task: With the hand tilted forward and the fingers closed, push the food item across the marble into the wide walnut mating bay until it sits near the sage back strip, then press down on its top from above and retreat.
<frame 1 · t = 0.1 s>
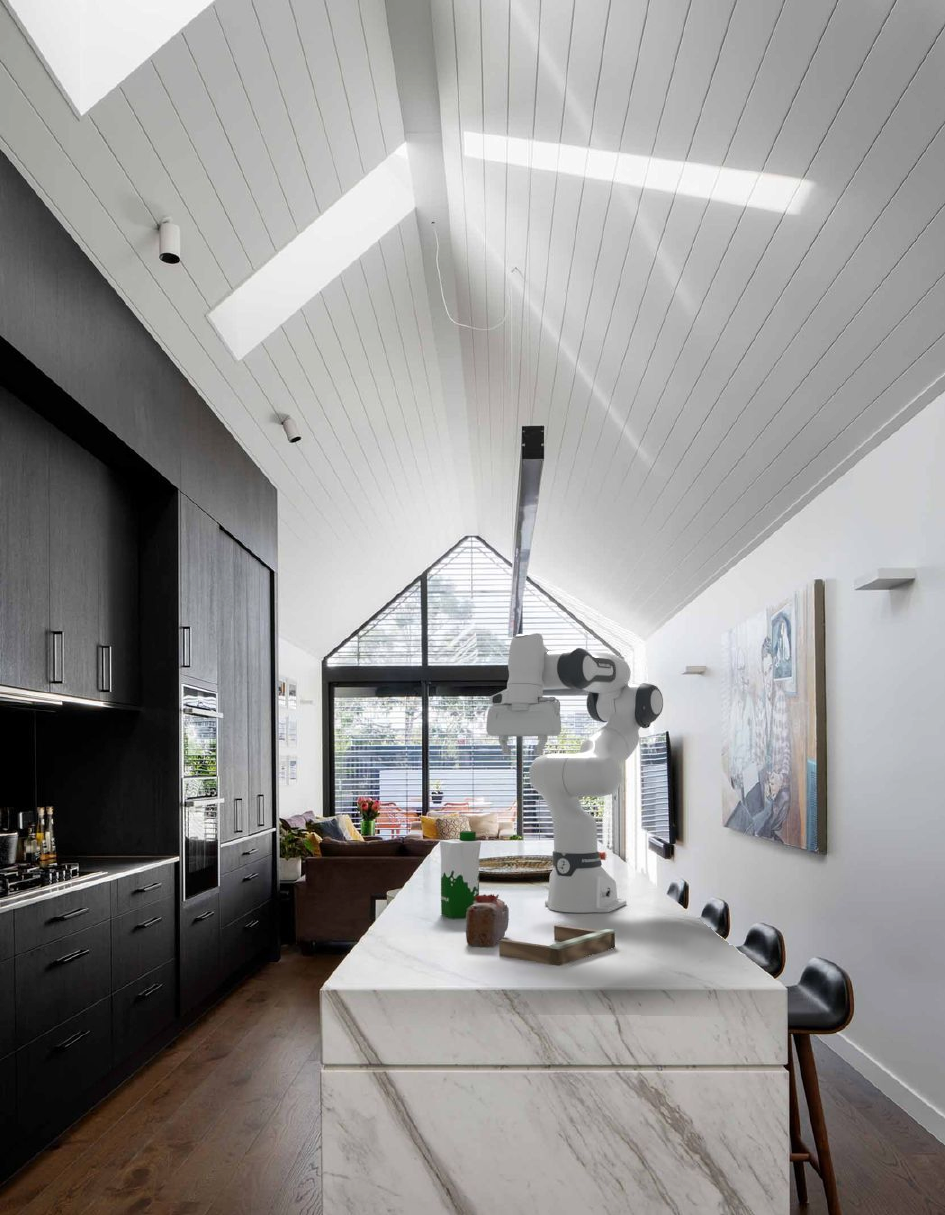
hand: (521, 755, 237), 39 cm above the countertop, tool pointing down, fingers open, 8 cm apart
milk carton: (459, 916, 240), on the countertop
bay: (558, 951, 199), on the countertop
food item: (487, 942, 210), on the countertop
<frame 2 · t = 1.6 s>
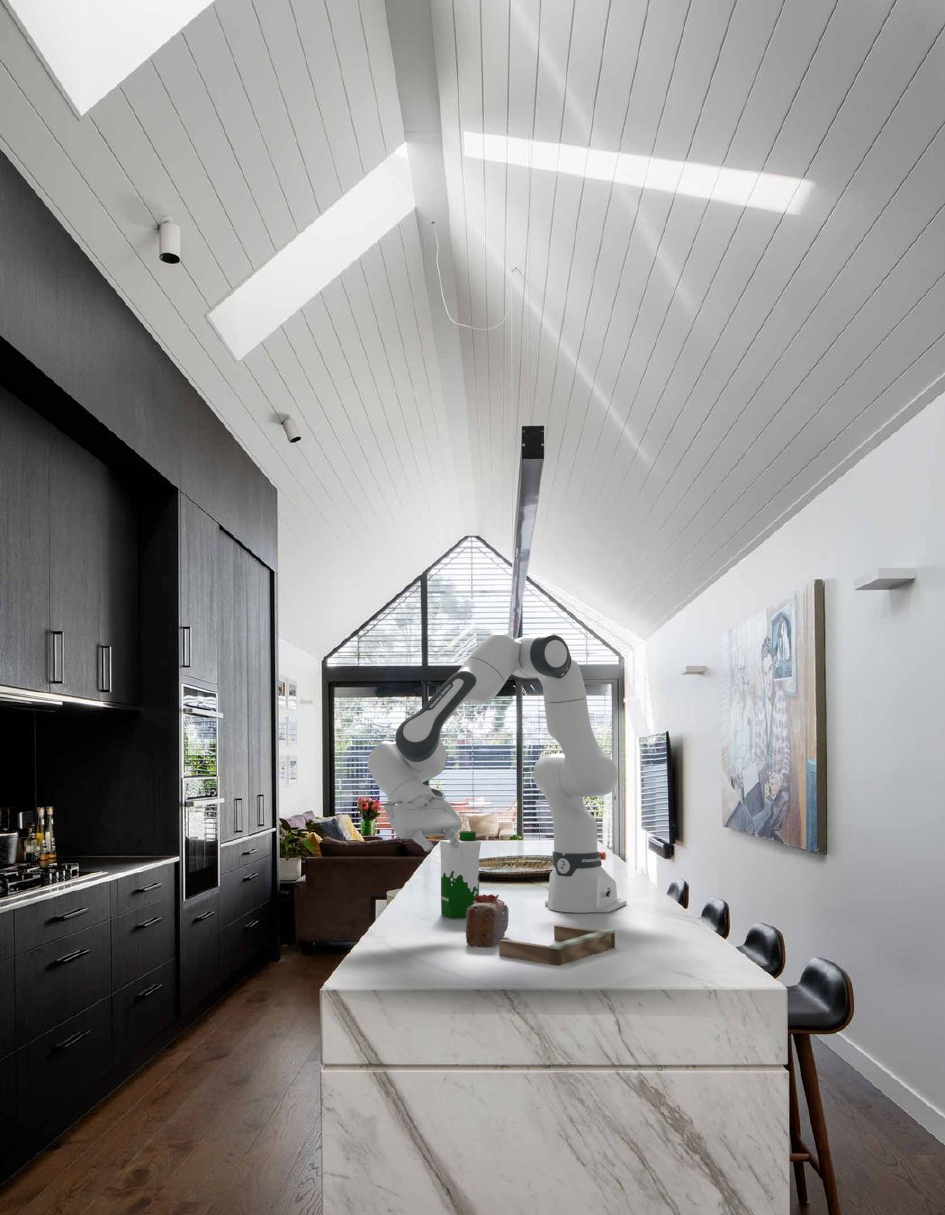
hand: (443, 848, 220), 19 cm above the countertop, tool tilted 45°, fingers open, 8 cm apart
nothing on the countertop moved.
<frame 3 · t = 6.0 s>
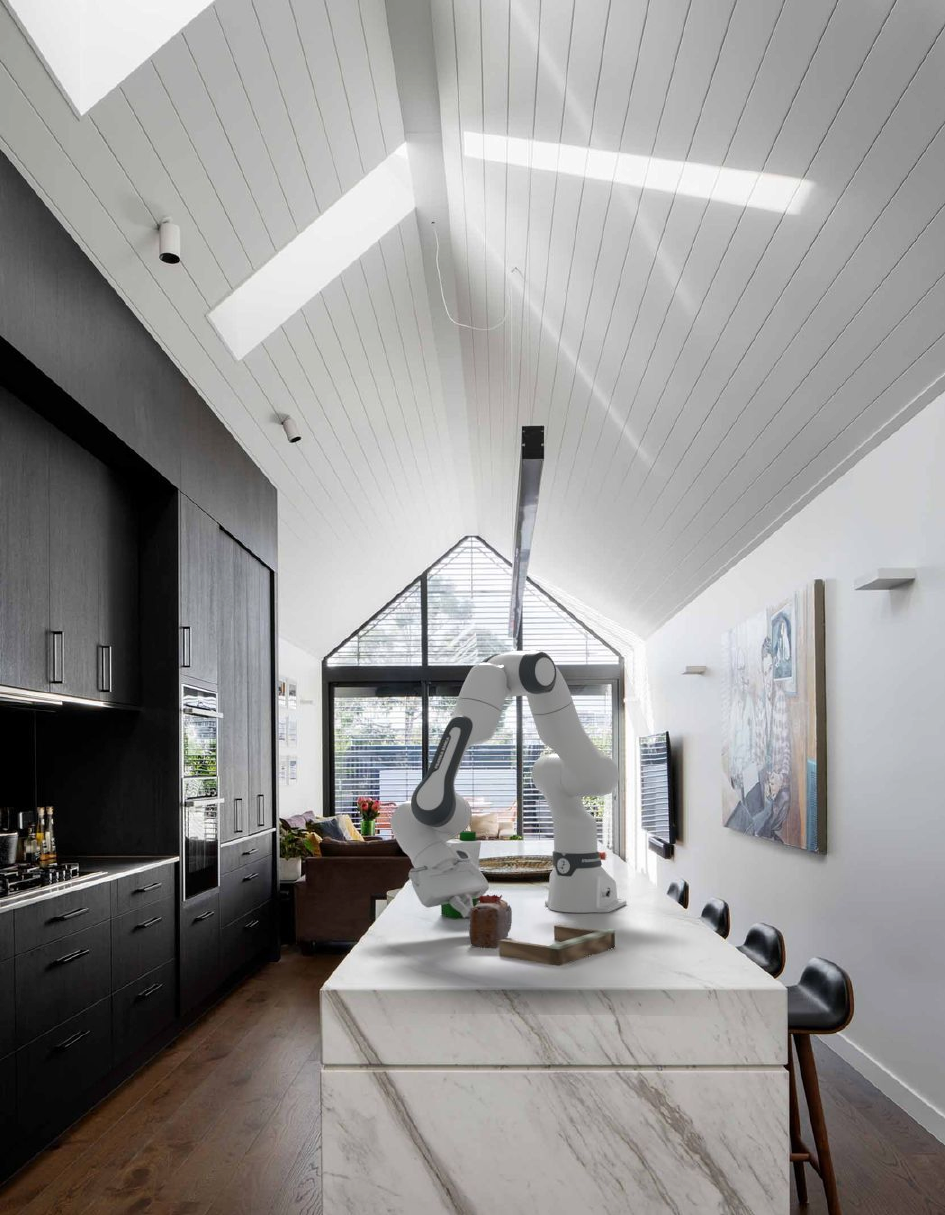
hand: (470, 915, 213), 5 cm above the countertop, tool tilted 45°, fingers closed
food item: (490, 943, 209), on the countertop, touching gripper
everything else where it was.
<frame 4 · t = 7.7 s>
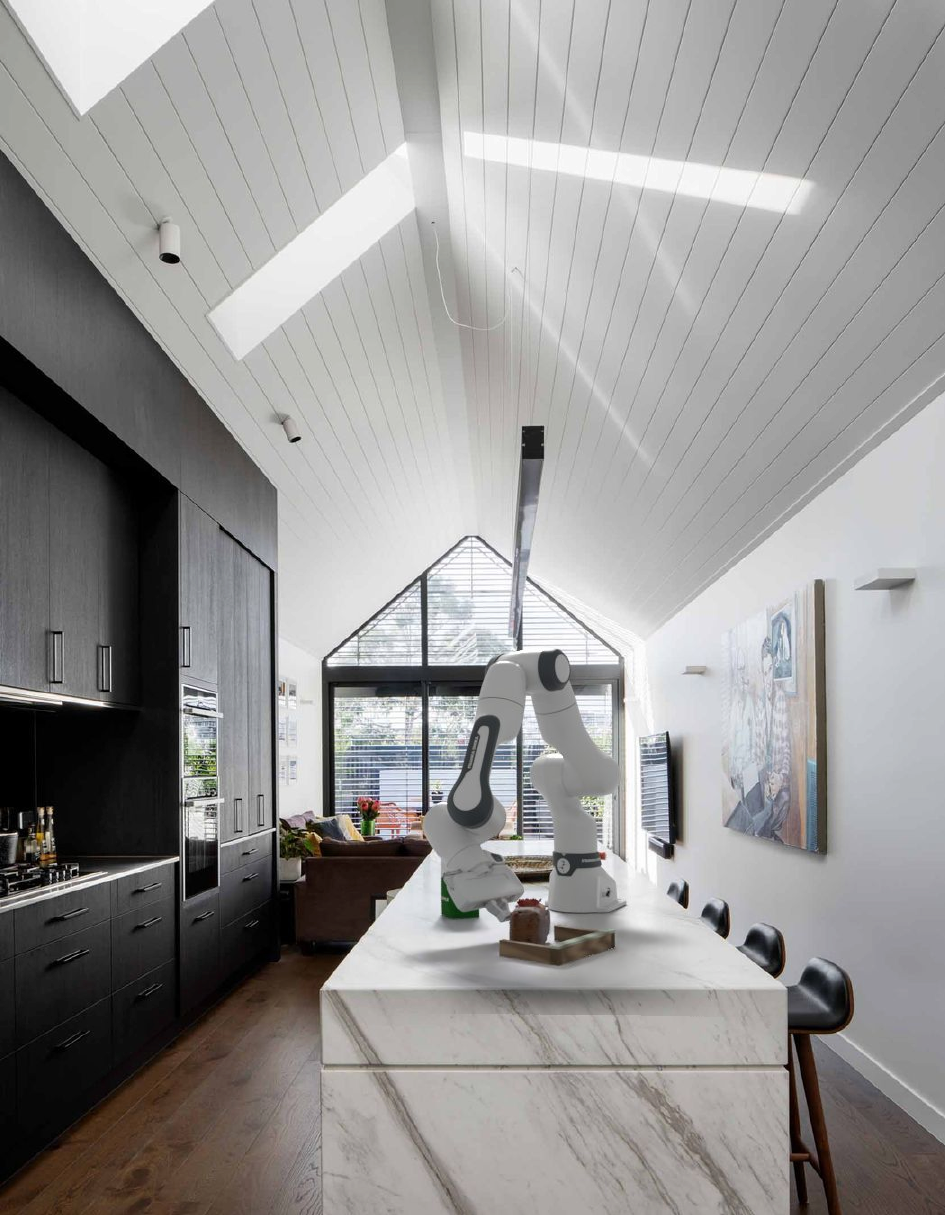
hand: (507, 919, 207), 5 cm above the countertop, tool tilted 45°, fingers closed
food item: (530, 947, 204), on the countertop, touching gripper
everything else where it was.
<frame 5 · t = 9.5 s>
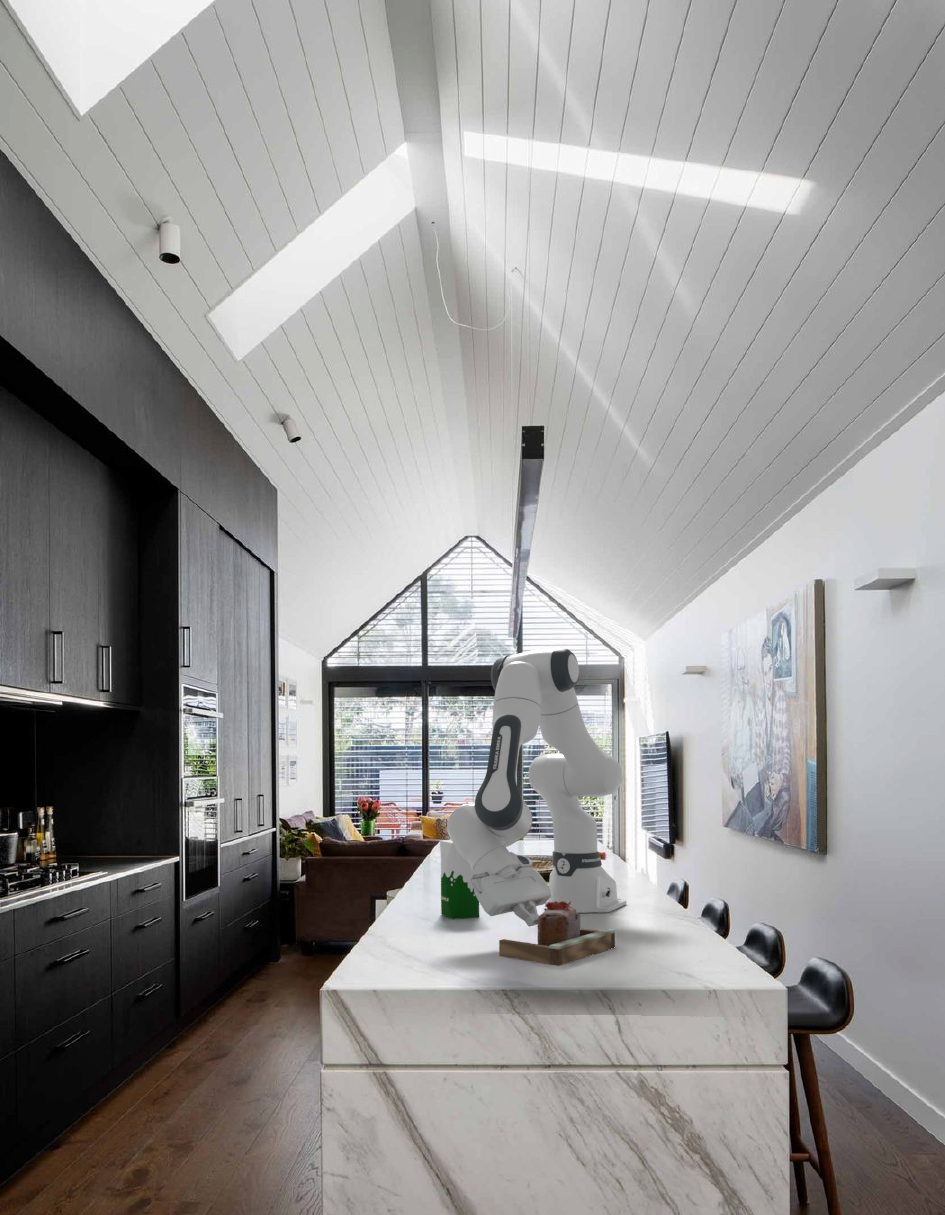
hand: (535, 923, 203), 5 cm above the countertop, tool tilted 45°, fingers closed
food item: (559, 951, 200), on the countertop, touching gripper
everything else where it was.
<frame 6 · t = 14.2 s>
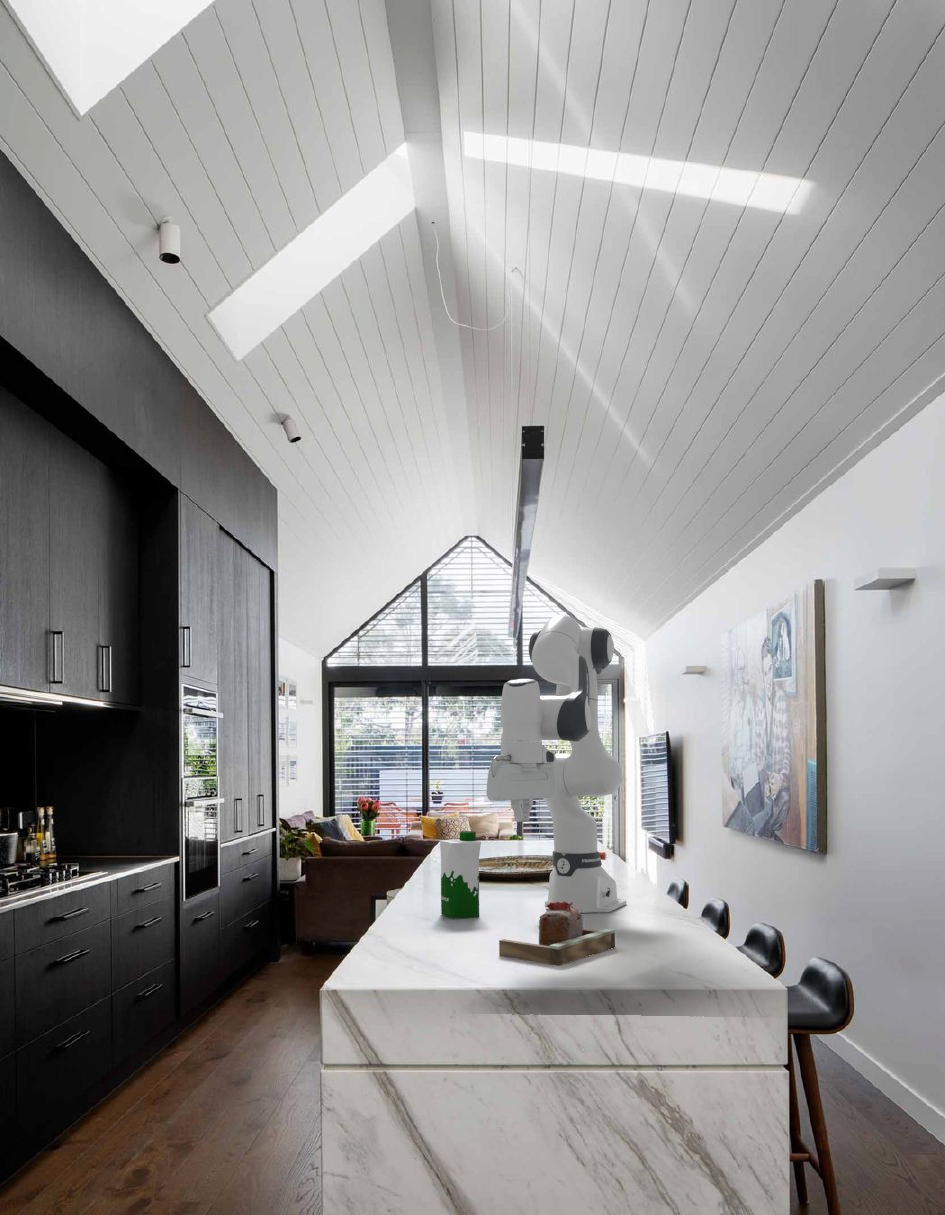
hand: (522, 821, 207), 25 cm above the countertop, tool pointing down, fingers closed
food item: (561, 952, 200), on the countertop
everything else where it was.
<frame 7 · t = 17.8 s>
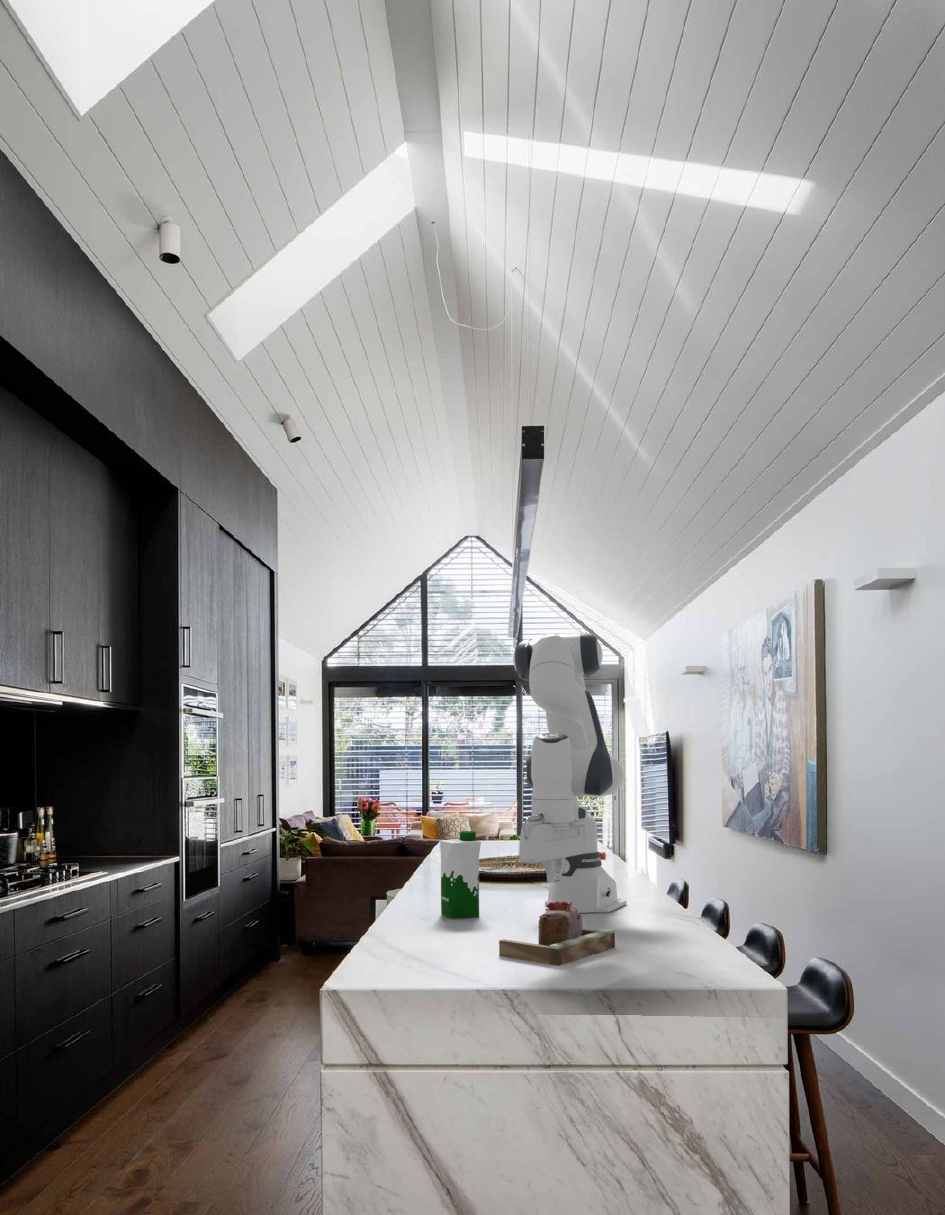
hand: (554, 881, 201), 14 cm above the countertop, tool pointing down, fingers closed
nothing on the countertop moved.
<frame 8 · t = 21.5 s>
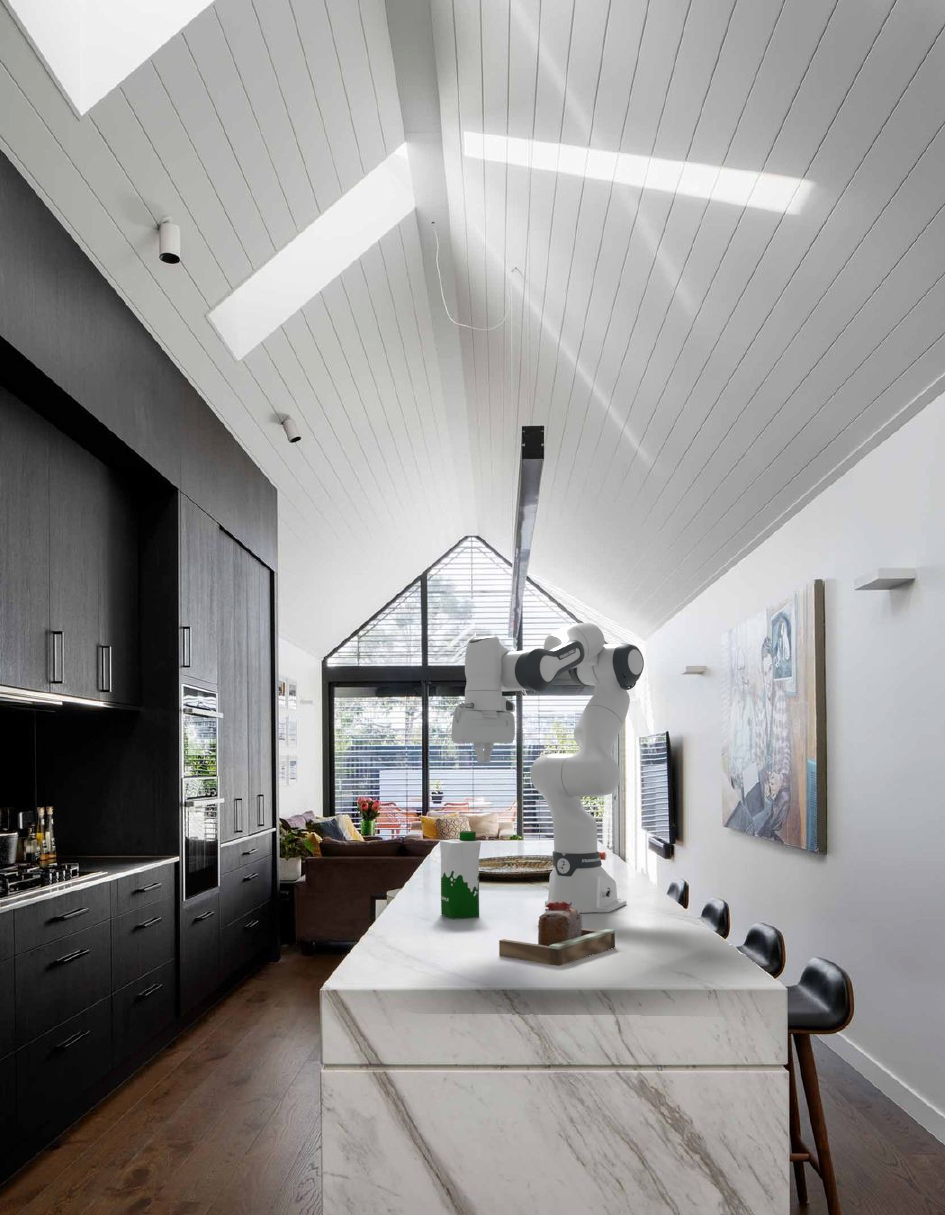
hand: (483, 762, 232), 37 cm above the countertop, tool pointing down, fingers closed
nothing on the countertop moved.
at the end: food item inside the target area on the bay (2.8 cm from its centre), point 0.0 cm above the bay's base; food item tilted 0°; the gripper is holding nothing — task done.
